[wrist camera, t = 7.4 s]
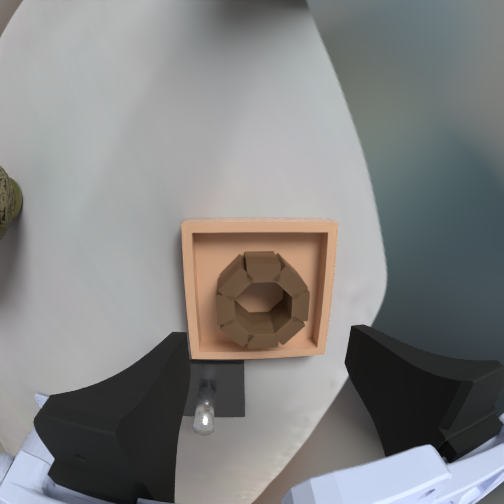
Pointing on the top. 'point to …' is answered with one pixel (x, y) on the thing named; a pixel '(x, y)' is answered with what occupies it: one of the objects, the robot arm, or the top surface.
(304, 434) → the top surface
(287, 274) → the ring
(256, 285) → the dish
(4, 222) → the cup
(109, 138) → the top surface
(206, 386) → the stand
